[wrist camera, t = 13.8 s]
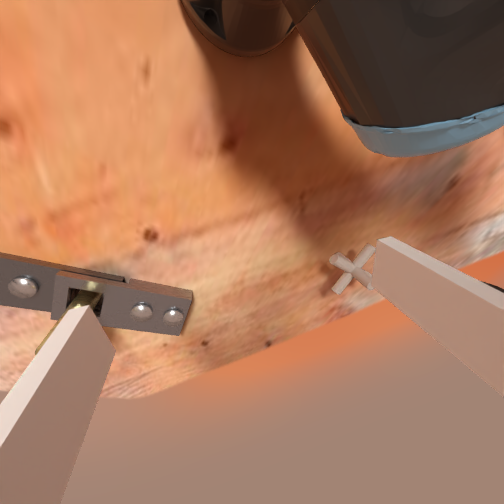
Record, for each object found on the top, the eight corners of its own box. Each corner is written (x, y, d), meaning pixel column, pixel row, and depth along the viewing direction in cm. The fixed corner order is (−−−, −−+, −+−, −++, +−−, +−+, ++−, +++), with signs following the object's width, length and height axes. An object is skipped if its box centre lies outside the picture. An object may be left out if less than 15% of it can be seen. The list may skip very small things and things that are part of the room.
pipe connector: (339, 285, 48) (371, 318, 40) (303, 267, 44) (330, 299, 36) (370, 245, 46) (412, 271, 37) (336, 223, 42) (373, 246, 33)
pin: (76, 287, 36) (29, 348, 26) (97, 283, 37) (58, 341, 26) (85, 302, 38) (43, 366, 27) (105, 298, 38) (71, 359, 28)
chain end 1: (124, 277, 37) (120, 283, 36) (115, 315, 40) (111, 323, 38) (-65, 239, 30) (-80, 245, 28) (-61, 290, 32) (-74, 298, 31)
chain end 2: (59, 307, 37) (48, 322, 34) (65, 265, 35) (53, 277, 32) (179, 325, 44) (178, 338, 41) (192, 290, 41) (192, 302, 38)
